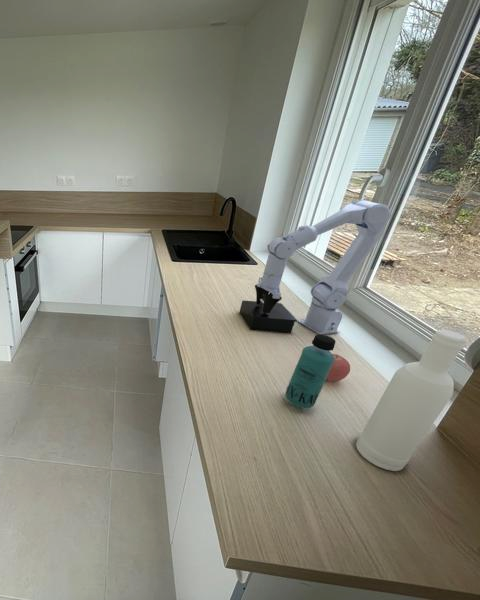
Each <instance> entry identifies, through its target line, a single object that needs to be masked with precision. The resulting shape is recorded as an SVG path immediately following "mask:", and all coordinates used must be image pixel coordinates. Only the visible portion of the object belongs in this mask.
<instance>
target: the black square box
mask: <svg viewBox="0 0 480 600" xmlns="http://www.w3.org/2000/svg"><path fill="white" fill-rule="evenodd" d="M238 314H239V315H240V316H241V318H242V320H243V321H244V323H245V324H246V325H247V328H248V329H249V331H253V332H267V333H268V332H269V333H278V334H292V331H293V329H294V325H295V323H296V322H291V321H279V320H266V319H254V318H253V317H252V315H251V314H250V312H249V311H248V310H247V308H246V307H245V305H244V304H243V303H242V302H241V304H240V308H239V313H238Z"/></svg>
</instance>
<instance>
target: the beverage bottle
mask: <svg viewBox="0 0 480 600" xmlns="http://www.w3.org/2000/svg"><path fill="white" fill-rule="evenodd" d="M311 344H312V345H308V346H305V347H304V348H303V349H302V352H301V354H300V357H299V359H298V361H297V364H296V365H295V368H294V370H293V373H292V374H291V377H290V380H289V382H288V384H287V387H286V390H285V393H284V394H285V399H286V400H287V401H288V402H289V403H290V404H292V405H293V406H296V407H297V408H300V409H306V410H307V409H308V410H309V409H312V408H313V407H315V405H316V403H317V401H318V398H319V397H320V395H321V392H322V390H323V388H324V386H325V382H326V381H327V380H326V378H327V375H328V373H329V371H330V369H331V367H332V364H333V362H334V361H335V358H334V356H333V354H334V353H332V352H331V351H333V350H334V349H335V345H336V340H335V338H333V337H332V336H330V335H327V334H318V333H316V334H315V336H314V337H313V339H312V341H311Z"/></svg>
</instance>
